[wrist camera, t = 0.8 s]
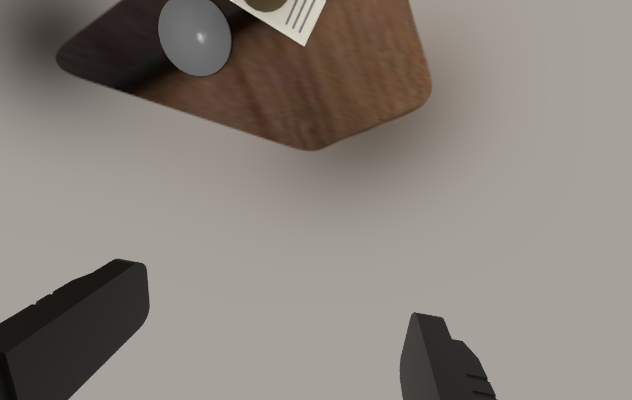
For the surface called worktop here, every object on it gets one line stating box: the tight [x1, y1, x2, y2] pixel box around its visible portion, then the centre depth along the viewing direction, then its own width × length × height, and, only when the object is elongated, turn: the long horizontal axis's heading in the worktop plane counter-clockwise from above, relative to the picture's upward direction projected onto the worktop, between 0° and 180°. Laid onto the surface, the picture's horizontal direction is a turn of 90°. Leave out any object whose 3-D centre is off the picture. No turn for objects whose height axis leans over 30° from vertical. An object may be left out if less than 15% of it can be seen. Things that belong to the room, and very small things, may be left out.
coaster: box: [158, 0, 232, 76], centre depth 33 cm, size 8×8×1 cm
